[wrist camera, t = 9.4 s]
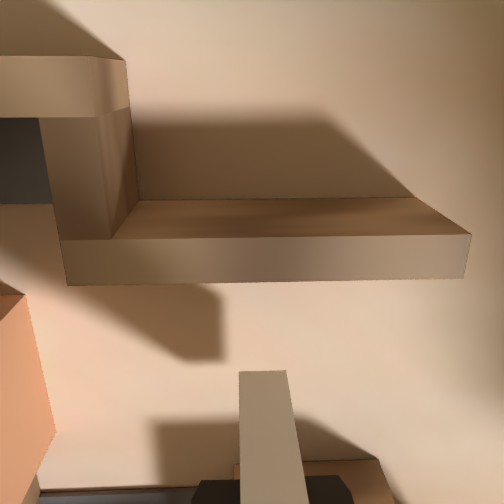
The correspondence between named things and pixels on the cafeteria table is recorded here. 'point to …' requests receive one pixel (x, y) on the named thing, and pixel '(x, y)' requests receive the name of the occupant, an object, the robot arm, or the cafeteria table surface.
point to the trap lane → (190, 225)
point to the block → (21, 402)
